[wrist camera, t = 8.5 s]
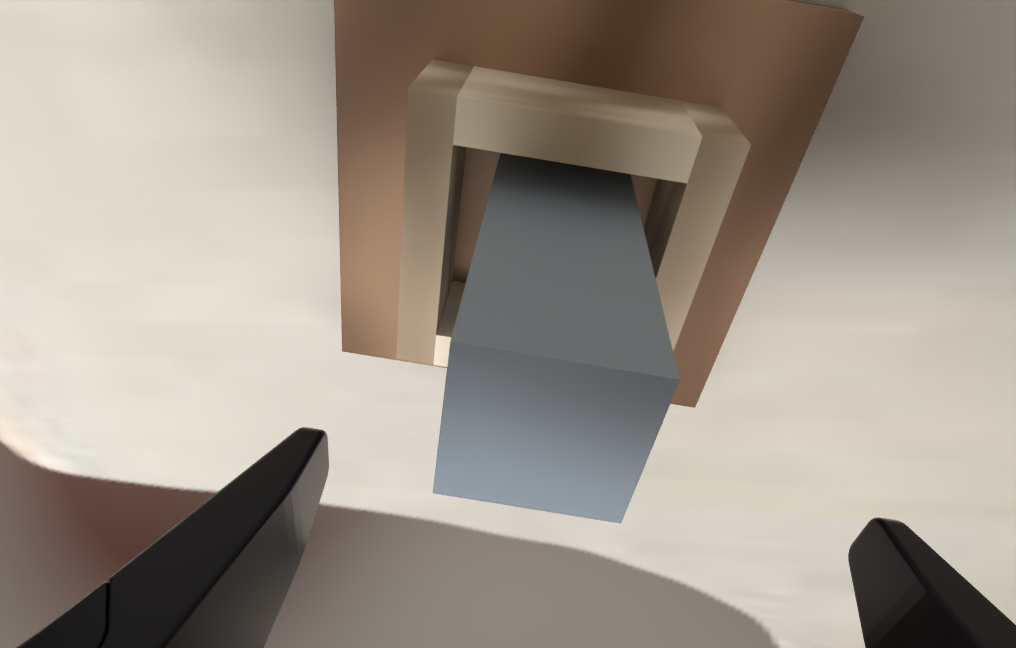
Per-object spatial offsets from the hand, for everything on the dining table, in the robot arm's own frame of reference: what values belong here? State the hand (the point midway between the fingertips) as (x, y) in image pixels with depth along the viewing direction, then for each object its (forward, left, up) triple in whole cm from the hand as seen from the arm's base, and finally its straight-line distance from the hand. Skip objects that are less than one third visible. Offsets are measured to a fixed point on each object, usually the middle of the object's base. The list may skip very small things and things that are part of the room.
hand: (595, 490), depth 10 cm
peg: (+1, +1, -12) cm, 12 cm away
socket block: (+1, +1, -13) cm, 13 cm away
